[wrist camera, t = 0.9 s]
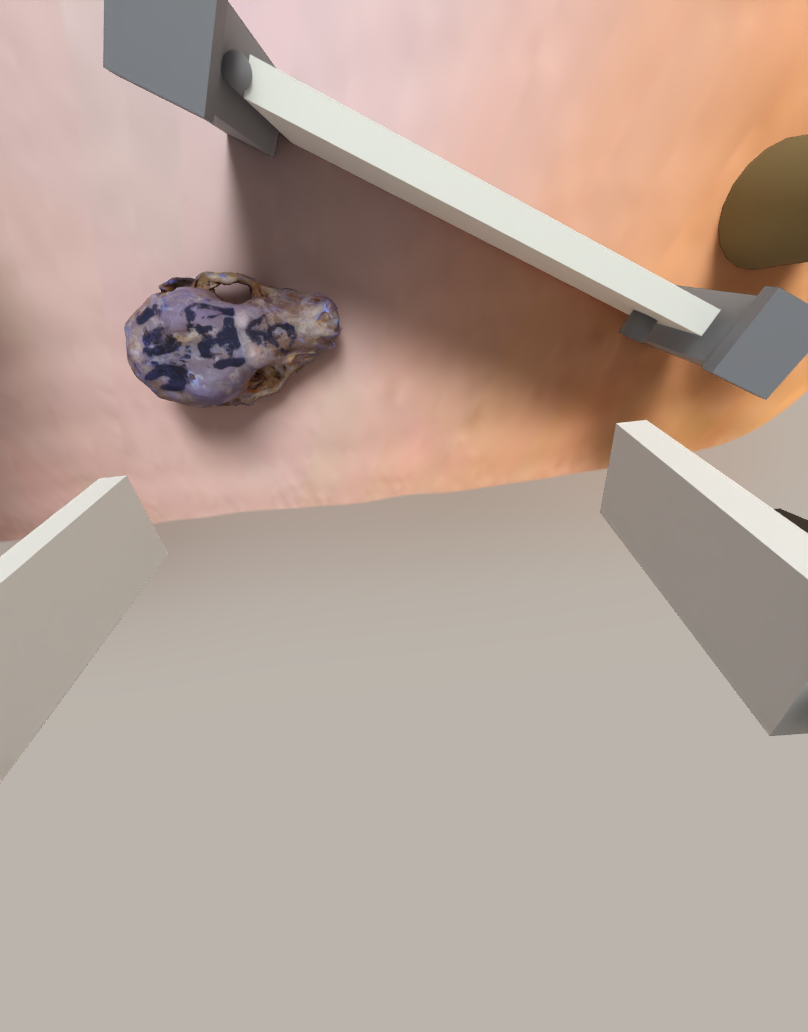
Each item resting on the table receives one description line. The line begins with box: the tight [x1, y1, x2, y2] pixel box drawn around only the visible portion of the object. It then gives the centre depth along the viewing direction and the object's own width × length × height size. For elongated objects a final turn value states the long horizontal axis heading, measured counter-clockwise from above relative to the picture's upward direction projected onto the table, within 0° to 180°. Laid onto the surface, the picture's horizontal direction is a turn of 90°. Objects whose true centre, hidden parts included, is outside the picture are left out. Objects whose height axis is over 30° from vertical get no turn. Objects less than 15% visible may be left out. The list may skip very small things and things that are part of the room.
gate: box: [222, 49, 721, 344], centre depth 20 cm, size 22×2×8 cm, turn 68°
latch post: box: [644, 285, 808, 399], centre depth 22 cm, size 3×4×10 cm
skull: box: [124, 272, 342, 407], centre depth 25 cm, size 12×8×6 cm, turn 93°
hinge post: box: [103, 0, 279, 157], centre depth 17 cm, size 3×4×10 cm
